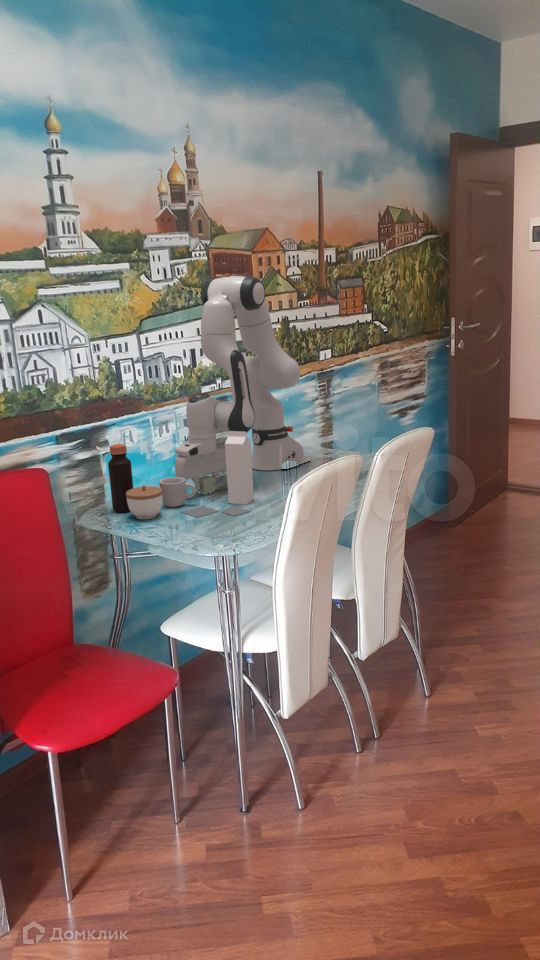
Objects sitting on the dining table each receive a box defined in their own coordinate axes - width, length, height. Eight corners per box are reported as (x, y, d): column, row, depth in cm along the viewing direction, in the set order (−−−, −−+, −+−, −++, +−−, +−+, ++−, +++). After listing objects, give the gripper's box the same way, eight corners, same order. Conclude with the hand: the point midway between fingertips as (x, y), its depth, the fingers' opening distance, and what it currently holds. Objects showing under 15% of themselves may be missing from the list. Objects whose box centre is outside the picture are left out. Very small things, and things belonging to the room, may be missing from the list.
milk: (236, 498, 259) (232, 429, 254) (254, 499, 257) (250, 429, 252) (228, 503, 254) (223, 433, 248) (246, 504, 252) (242, 433, 246)
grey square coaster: (237, 507, 249) (237, 507, 249) (250, 511, 245) (250, 511, 245) (221, 512, 245) (221, 511, 245) (234, 516, 241) (234, 515, 241)
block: (207, 490, 270) (206, 475, 269) (214, 492, 267) (213, 477, 266) (197, 492, 268) (196, 477, 267) (204, 494, 265) (203, 479, 264)
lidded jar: (127, 523, 240) (124, 492, 237) (128, 512, 250) (125, 482, 248) (165, 519, 241) (162, 488, 239) (164, 509, 252) (161, 479, 249)
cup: (198, 501, 258) (196, 476, 256) (193, 508, 251) (191, 483, 249) (164, 501, 260) (162, 477, 258) (158, 509, 252) (156, 483, 250)
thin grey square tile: (202, 506, 252) (202, 505, 252) (218, 511, 247) (218, 510, 247) (181, 512, 248) (181, 511, 248) (196, 517, 242) (196, 517, 242)
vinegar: (108, 512, 251) (101, 448, 246) (120, 506, 257) (113, 443, 252) (128, 513, 249) (122, 448, 244) (139, 507, 255) (133, 443, 250)
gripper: (222, 438, 272) (225, 479, 276) (170, 450, 260) (174, 492, 263) (234, 441, 268) (237, 482, 271) (182, 452, 255) (185, 496, 259)
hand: (205, 487), depth 267 cm, fingers closed on block, 4 cm apart
